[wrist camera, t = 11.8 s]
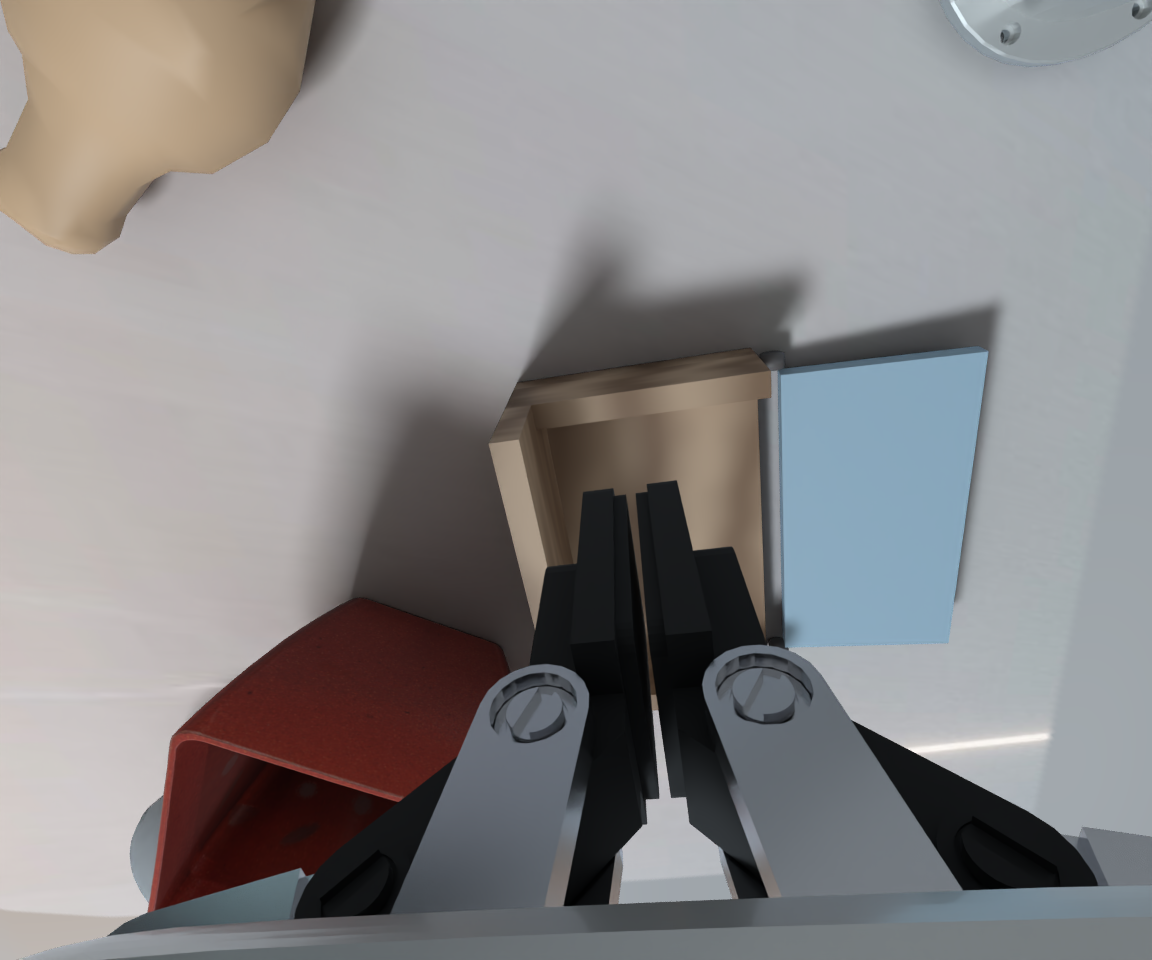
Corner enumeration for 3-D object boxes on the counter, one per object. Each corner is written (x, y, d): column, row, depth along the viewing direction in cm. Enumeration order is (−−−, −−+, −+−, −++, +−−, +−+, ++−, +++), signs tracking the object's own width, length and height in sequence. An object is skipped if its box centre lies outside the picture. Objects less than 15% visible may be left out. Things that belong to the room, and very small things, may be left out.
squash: (397, 31, 30) (319, -27, 22) (184, 299, 36) (64, 332, 28) (215, -192, 26) (43, -357, 18) (17, 148, 33) (-173, 135, 25)
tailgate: (777, 369, 36) (978, 345, 34) (782, 636, 45) (941, 631, 43) (780, 375, 35) (988, 351, 33) (785, 647, 44) (948, 643, 42)
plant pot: (319, 543, 44) (167, 730, 29) (559, 627, 46) (534, 840, 31) (278, 712, 52) (143, 927, 37) (483, 776, 54) (435, 1002, 39)
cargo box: (780, 343, 36) (838, 395, 27) (785, 648, 46) (828, 760, 37) (517, 382, 38) (488, 443, 29) (578, 667, 48) (571, 777, 39)
